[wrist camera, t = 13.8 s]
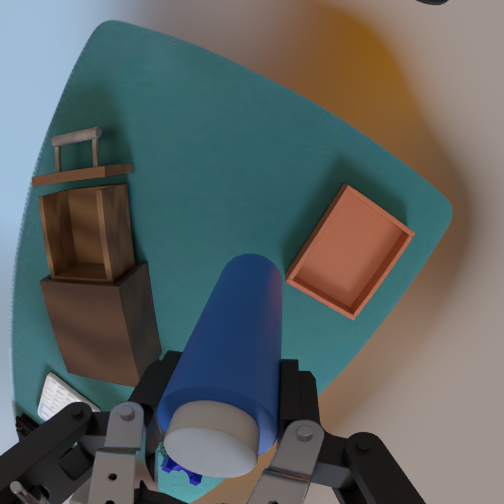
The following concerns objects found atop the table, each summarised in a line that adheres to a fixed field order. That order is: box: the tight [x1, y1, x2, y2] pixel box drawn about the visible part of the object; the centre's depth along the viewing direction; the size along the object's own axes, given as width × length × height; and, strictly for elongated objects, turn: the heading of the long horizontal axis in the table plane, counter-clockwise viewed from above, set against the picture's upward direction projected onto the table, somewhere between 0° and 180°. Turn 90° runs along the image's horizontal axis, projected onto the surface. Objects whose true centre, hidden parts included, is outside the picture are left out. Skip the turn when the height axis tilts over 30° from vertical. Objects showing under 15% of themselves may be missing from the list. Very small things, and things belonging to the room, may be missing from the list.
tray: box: [285, 183, 415, 320], centre depth 36 cm, size 13×10×3 cm
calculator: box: [38, 373, 101, 421], centre depth 52 cm, size 13×20×2 cm, turn 144°
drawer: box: [32, 127, 135, 284], centre depth 34 cm, size 18×11×7 cm, turn 1°
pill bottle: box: [157, 254, 282, 478], centre depth 15 cm, size 4×4×14 cm
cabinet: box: [40, 261, 162, 387], centre depth 39 cm, size 15×13×9 cm
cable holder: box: [161, 455, 202, 486], centre depth 51 cm, size 8×4×4 cm, turn 54°
